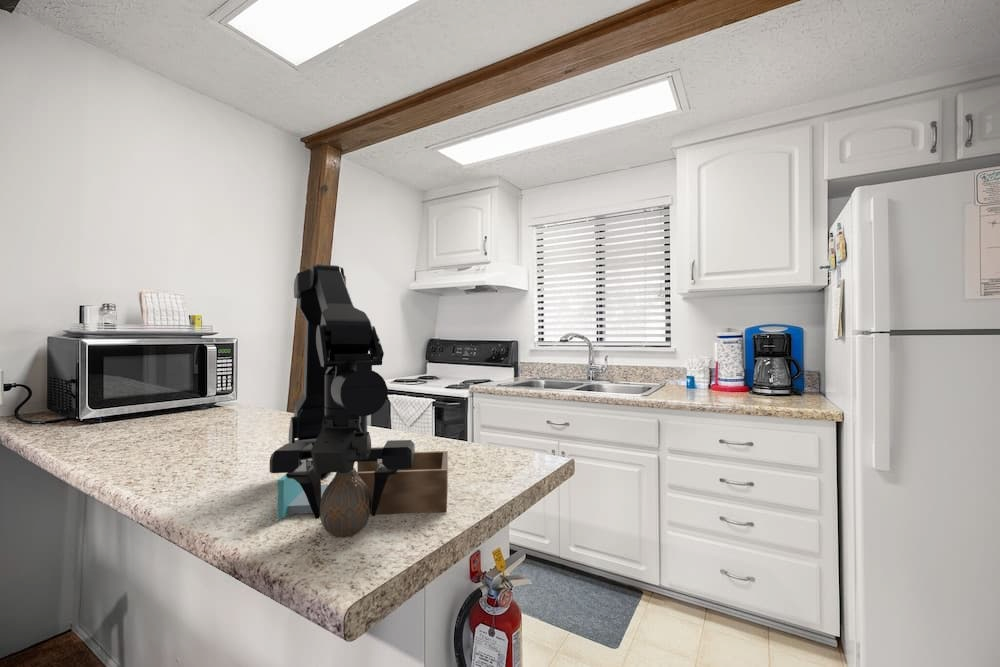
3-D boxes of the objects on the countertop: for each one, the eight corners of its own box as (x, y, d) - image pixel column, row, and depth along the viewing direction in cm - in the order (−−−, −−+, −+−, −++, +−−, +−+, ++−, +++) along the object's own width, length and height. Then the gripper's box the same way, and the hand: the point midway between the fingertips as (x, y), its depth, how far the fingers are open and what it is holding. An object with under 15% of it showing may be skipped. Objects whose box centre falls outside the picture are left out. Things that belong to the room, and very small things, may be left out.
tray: (277, 518, 66) (278, 480, 66) (306, 489, 78) (306, 457, 79) (386, 513, 67) (386, 476, 67) (397, 485, 80) (397, 454, 80)
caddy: (341, 516, 67) (341, 473, 67) (358, 489, 79) (358, 453, 79) (446, 511, 69) (446, 470, 69) (447, 486, 81) (447, 451, 81)
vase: (362, 543, 58) (362, 477, 58) (310, 542, 58) (311, 476, 59) (377, 521, 65) (377, 462, 65) (331, 521, 65) (331, 462, 65)
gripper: (250, 417, 53) (250, 547, 53) (407, 414, 55) (407, 539, 55) (285, 404, 64) (285, 511, 64) (415, 401, 66) (415, 505, 66)
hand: (346, 516), depth 62 cm, fingers open, 7 cm apart
